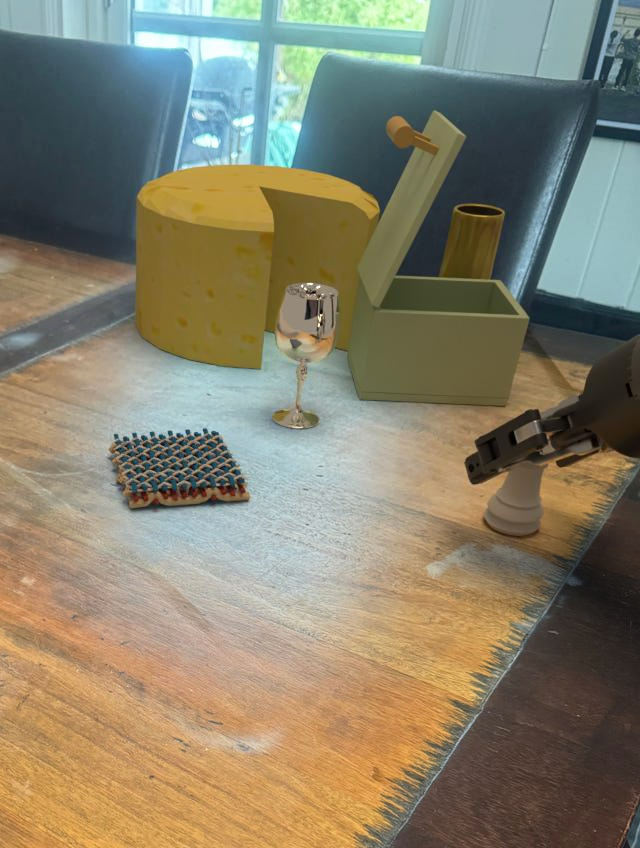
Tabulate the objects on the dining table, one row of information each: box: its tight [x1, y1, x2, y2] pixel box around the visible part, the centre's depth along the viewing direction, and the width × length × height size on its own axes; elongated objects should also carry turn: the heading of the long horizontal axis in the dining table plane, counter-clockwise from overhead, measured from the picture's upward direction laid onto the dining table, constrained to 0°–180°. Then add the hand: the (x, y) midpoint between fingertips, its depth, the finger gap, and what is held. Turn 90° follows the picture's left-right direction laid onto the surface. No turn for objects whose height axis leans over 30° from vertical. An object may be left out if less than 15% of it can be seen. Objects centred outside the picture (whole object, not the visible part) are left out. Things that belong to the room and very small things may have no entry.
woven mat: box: [107, 427, 251, 509], centre depth 79 cm, size 10×11×2 cm
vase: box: [438, 203, 506, 280], centre depth 103 cm, size 6×6×14 cm
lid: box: [357, 109, 467, 307], centre depth 88 cm, size 15×12×5 cm
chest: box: [346, 274, 530, 407], centre depth 96 cm, size 15×12×9 cm
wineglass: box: [272, 283, 340, 430], centre depth 86 cm, size 6×6×12 cm
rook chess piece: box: [483, 437, 555, 537], centre depth 73 cm, size 4×4×8 cm
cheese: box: [134, 164, 381, 370], centre depth 105 cm, size 26×26×15 cm
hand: (514, 463), depth 74 cm, fingers open, 8 cm apart
